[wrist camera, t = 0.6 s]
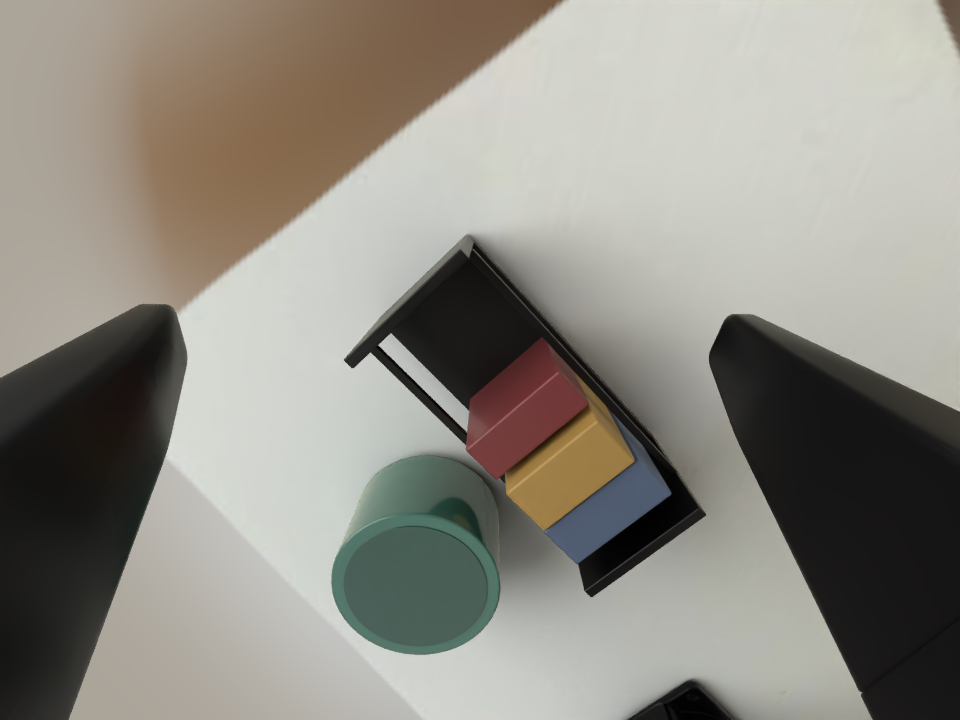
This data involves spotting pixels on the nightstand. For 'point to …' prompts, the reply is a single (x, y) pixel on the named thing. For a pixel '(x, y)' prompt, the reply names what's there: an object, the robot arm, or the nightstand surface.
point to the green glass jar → (420, 557)
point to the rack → (487, 352)
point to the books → (561, 453)
